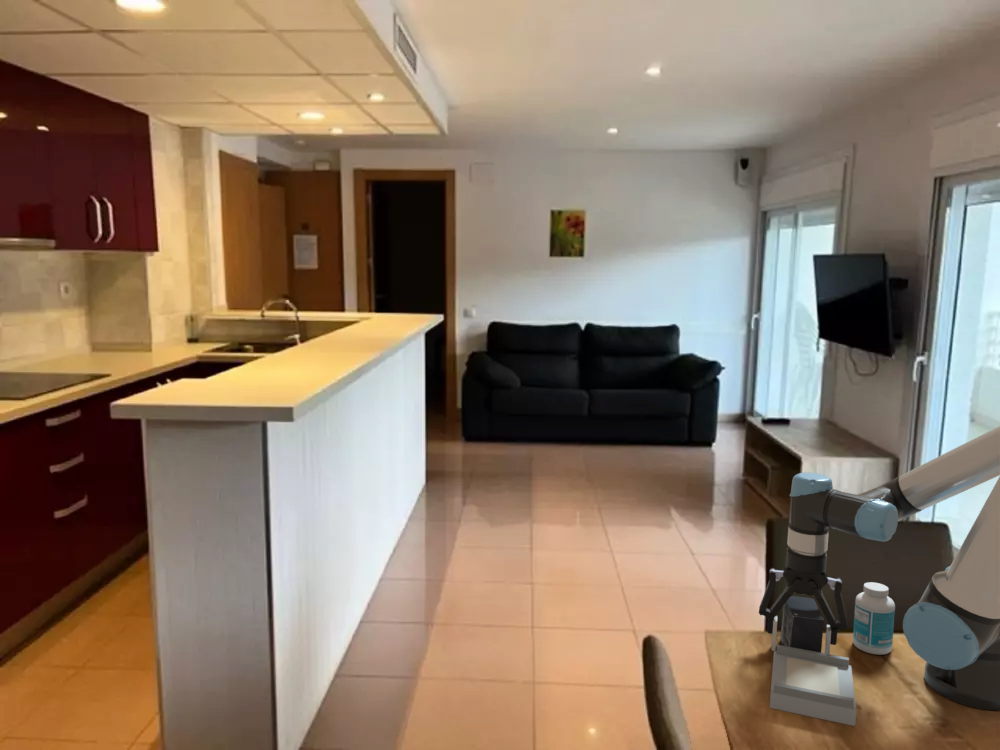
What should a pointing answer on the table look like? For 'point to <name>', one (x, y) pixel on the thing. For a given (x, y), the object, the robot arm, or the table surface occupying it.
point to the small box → (802, 624)
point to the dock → (813, 685)
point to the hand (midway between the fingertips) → (799, 652)
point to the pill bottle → (874, 619)
